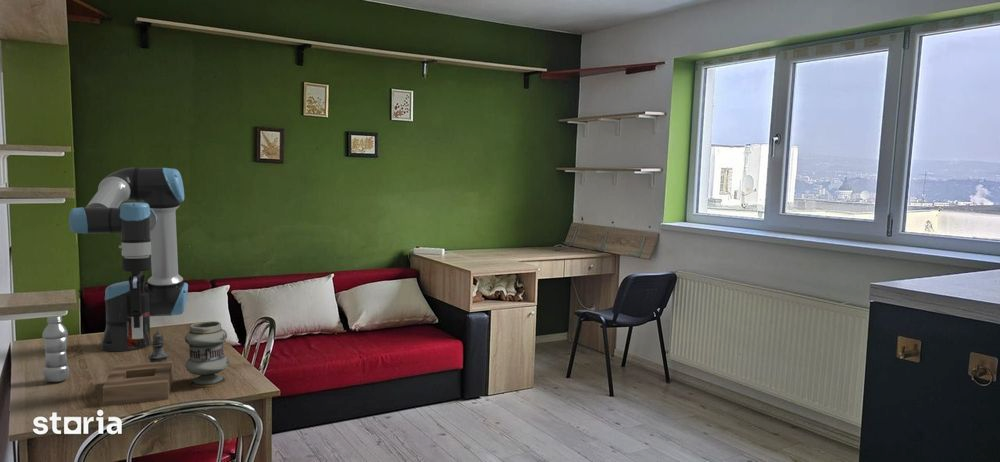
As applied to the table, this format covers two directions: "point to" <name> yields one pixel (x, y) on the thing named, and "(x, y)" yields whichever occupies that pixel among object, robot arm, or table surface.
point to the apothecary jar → (206, 353)
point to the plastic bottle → (55, 350)
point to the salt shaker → (158, 349)
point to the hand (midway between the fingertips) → (138, 335)
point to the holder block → (138, 383)
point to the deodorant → (146, 323)
